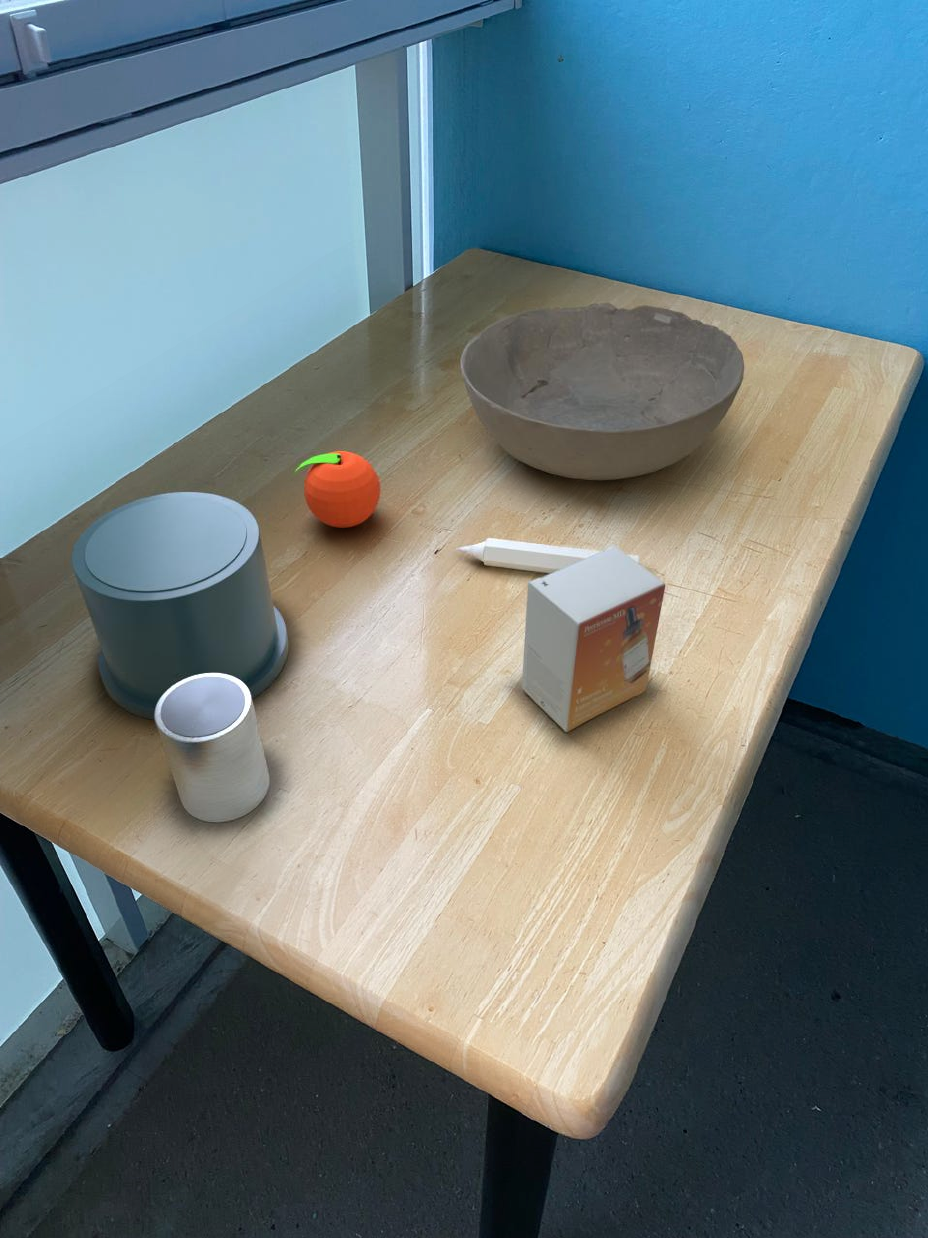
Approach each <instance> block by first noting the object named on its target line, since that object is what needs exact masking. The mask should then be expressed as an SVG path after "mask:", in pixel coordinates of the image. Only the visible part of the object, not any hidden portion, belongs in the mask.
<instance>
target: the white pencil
mask: <svg viewBox="0 0 928 1238" xmlns="http://www.w3.org/2000/svg"><path fill="white" fill-rule="evenodd" d="M454 549H455V550H458V551H460V552H463V553H464V554H467V555H471V556H472V557H474V558H475V559H478V560H479V561H481V562H483V564H484V566H488V567H494V568H495V567H497V568H504V569H511V570H512V569H513V570H520V571H527V572H535V573H543V574H545V573H546V574H551V573H553V572H555V571H558V570H560V569H562V568H565V567H567V566H569V565H572V564H574V563H576V562H579V561H581V560H583V559H586V558H588V557H590V556H592V555H595V554H597V553H599V552H601V550H593V549H584V548H577V547H576V548H575V547H567V546H560V545H551V544H544V543H543V544H542V543H534V542H527V541H520V540H519V541H518V540H510V539H501V538H493V537H486V540H484V541H481V542H478V543H474V544H471V545H466V546H461V547H460V546H459V547H455V548H454ZM627 555H628V556H630V557H631V558H632V559H634V560H635V561H636V562H638V563H639V560H640V555H633V554H627Z"/></svg>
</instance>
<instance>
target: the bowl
mask: <svg viewBox="0 0 928 1238" xmlns="http://www.w3.org/2000/svg"><path fill="white" fill-rule="evenodd" d="M460 356H461V357H460V370H461V375H462V379H463V383H464V386H465V389H466V393H467V395H468V398H469V400H470V403H471V405H472V407H473V409H474V411H475V413H476V415H477V418H478V420H479V421H480V423H481V424H482V426H483V427H484V429H486V431H487V433H488V434H489V435H490V437H491V438H492V439H493V440H494V442H496V443H497V444H498V445H499V446H500V448H501V449H503V450H504V452H506V453H507V454H508V455H510V456H511V457H512V458H514V459H515V460H517V461H519V462H521V463H523V464H525V465H528V466H529V467H531V468H534V469H536V470H538V471H541V472H544V473H548V474H551V475H554V476H559V477H564V478H568V479H576V480H577V479H578V480H585V481H611V480H613V481H614V480H621V479H629V478H634V477H639V476H643V475H647V474H651V473H654V472H657V471H659V470H662V469H664V468H667V467H669V466H671V465H674V464H676V463H677V462H679V461H681V460H682V459H684V458H685V457H687V456H689V455H690V454H691V453H692V452H694V451H695V450H696V449H697V448H699V447H700V446H701V445H702V444H703V443H704V442H705V441H706V440H707V439H708V438H709V437H710V436H711V435H712V434H713V433H714V432H715V430H716V429H717V427H719V425H720V423H721V422H722V421H723V419H724V418H725V416H726V414H727V413H728V411H729V410H730V409H731V406H732V405H733V403H734V401H735V398H736V396H737V395H738V392H739V390H740V388H741V386H742V382H743V380H744V374H745V361H744V360H745V359H744V356H743V353H742V351H741V350H740V349H739V347H738V345H737V342H736V341H735V340H734V339H732V336H731V335H729V334H728V333H726V332H725V331H724V330H722V329H720V328H719V327H718V326H716V325H712V324H707V323H703V322H702V321H701V320H697V319H692V318H691V317H690V316H688V315H687V314H685V313H684V312H680V311H675V310H672V309H669V308H663V307H658V306H652V305H647V304H643V305H637V306H636V307H633V308H631V309H628V308H624V307H622V308H617V307H616V305H615V304H612V303H609V302H601V303H599V304H598V303H595V302H594V303H591V304H589V305H587V306H579V307H578V306H577V307H558V306H557V307H542V308H534V309H529V310H524V311H521V312H518V313H514V314H511V315H508V316H506V317H503V318H501V319H499V320H497V321H495V322H494V323H492V324H490V325H488V326H487V327H485V328H484V329H483V330H481V331H480V332H479V333H478V334H476V335H475V336H473V337H472V338H471V339H470V340H469V341H468V342H467V344H466V345H465V347H464V349H463V351H462V353H461V355H460Z"/></svg>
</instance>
